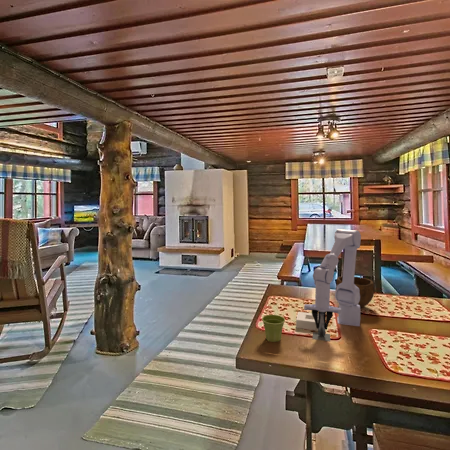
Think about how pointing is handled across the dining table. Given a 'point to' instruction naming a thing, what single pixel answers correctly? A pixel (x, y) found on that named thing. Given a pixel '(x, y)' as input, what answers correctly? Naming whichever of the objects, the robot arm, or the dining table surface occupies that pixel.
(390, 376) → the dining table surface
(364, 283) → the bowl
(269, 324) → the plant pot
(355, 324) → the robot arm
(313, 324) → the block
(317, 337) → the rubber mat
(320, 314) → the steel pin
